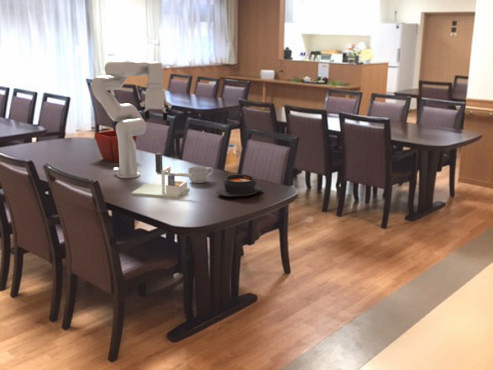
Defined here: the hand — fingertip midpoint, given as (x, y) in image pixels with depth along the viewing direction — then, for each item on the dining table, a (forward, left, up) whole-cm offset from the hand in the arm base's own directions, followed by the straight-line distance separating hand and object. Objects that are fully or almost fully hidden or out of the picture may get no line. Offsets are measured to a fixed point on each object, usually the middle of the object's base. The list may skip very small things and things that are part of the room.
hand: (156, 119), depth 295 cm
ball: (+17, -15, -31) cm, 38 cm away
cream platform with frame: (+8, -15, -34) cm, 38 cm away
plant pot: (-47, +45, -35) cm, 74 cm away
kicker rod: (+15, -15, -32) cm, 39 cm away
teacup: (+21, +10, -35) cm, 42 cm away
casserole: (+47, -6, -35) cm, 59 cm away
